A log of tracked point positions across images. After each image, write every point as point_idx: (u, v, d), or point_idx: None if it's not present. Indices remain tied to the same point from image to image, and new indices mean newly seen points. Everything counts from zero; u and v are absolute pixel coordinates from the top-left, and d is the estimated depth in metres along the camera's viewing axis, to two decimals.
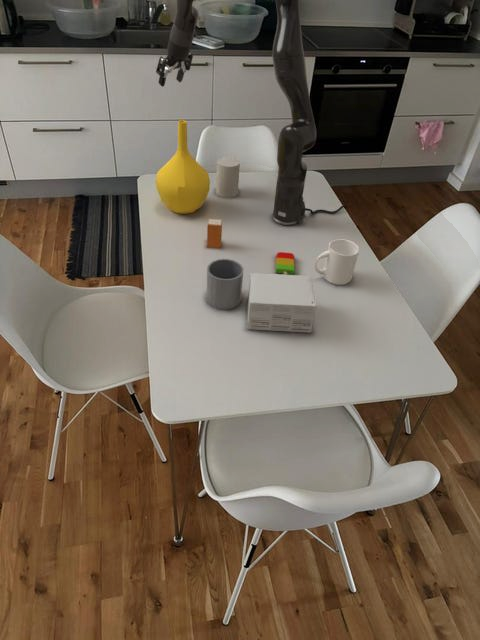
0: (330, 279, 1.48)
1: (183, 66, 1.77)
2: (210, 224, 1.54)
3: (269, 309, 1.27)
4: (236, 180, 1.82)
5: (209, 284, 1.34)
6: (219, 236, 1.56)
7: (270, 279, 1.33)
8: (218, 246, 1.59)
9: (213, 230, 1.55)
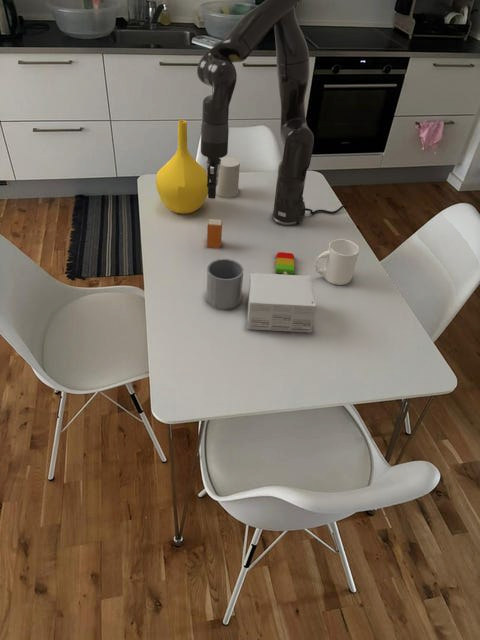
0: (330, 279, 1.48)
1: None
2: (210, 224, 1.54)
3: (269, 309, 1.27)
4: (236, 180, 1.82)
5: (209, 284, 1.34)
6: (219, 236, 1.56)
7: (270, 279, 1.33)
8: (218, 246, 1.59)
9: (213, 230, 1.55)
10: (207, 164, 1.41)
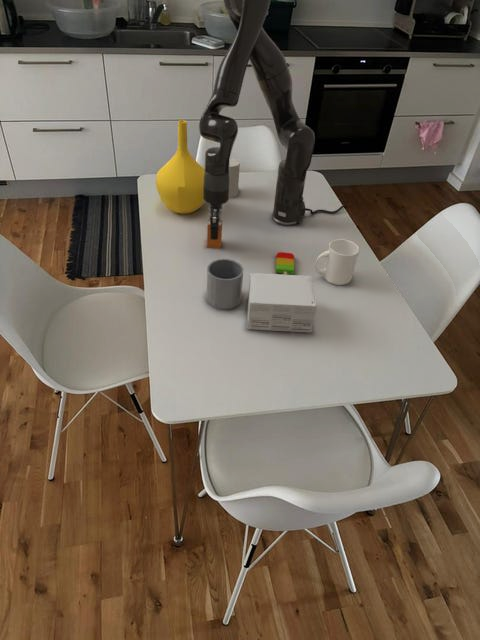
0: (330, 279, 1.48)
1: None
2: None
3: (269, 309, 1.27)
4: (236, 180, 1.82)
5: (209, 284, 1.34)
6: (219, 236, 1.57)
7: (270, 279, 1.33)
8: (218, 246, 1.59)
9: None
10: (209, 209, 1.50)
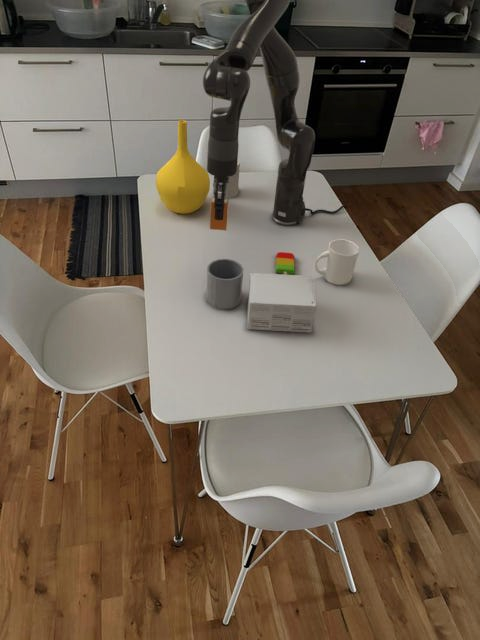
0: (330, 279, 1.48)
1: None
2: (214, 201, 1.31)
3: (269, 309, 1.27)
4: (236, 180, 1.82)
5: (209, 284, 1.34)
6: (224, 216, 1.34)
7: (270, 279, 1.33)
8: (223, 228, 1.36)
9: None
10: (214, 183, 1.28)
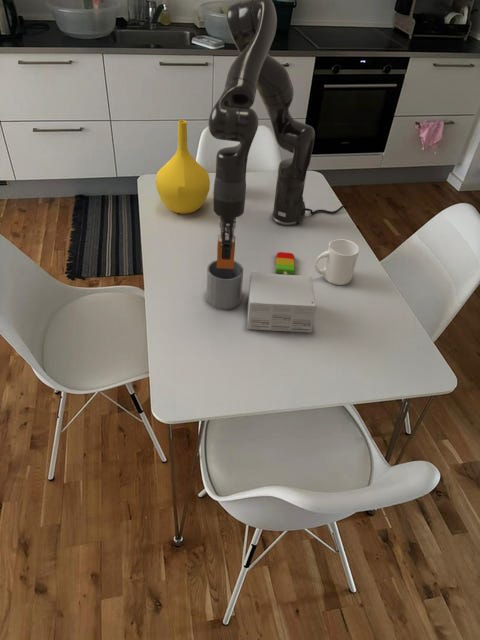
0: (330, 279, 1.48)
1: None
2: (221, 241, 1.26)
3: (269, 309, 1.27)
4: None
5: (209, 284, 1.34)
6: (232, 255, 1.29)
7: (270, 279, 1.33)
8: (230, 267, 1.31)
9: None
10: (221, 223, 1.23)
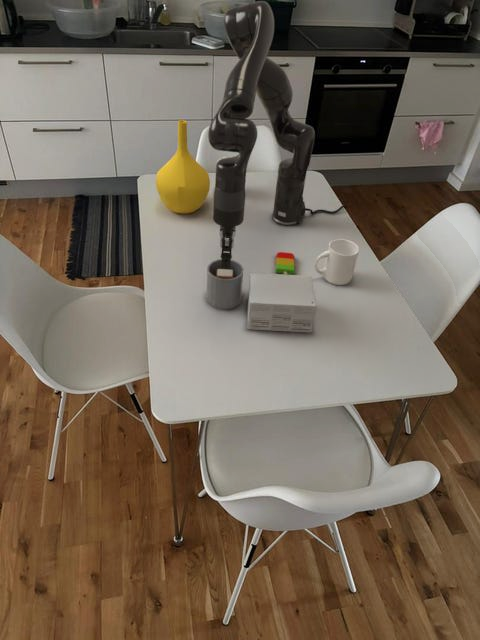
0: (330, 279, 1.48)
1: None
2: (219, 275, 1.33)
3: (269, 309, 1.27)
4: None
5: (209, 284, 1.34)
6: None
7: (270, 279, 1.33)
8: None
9: None
10: (220, 232, 1.24)
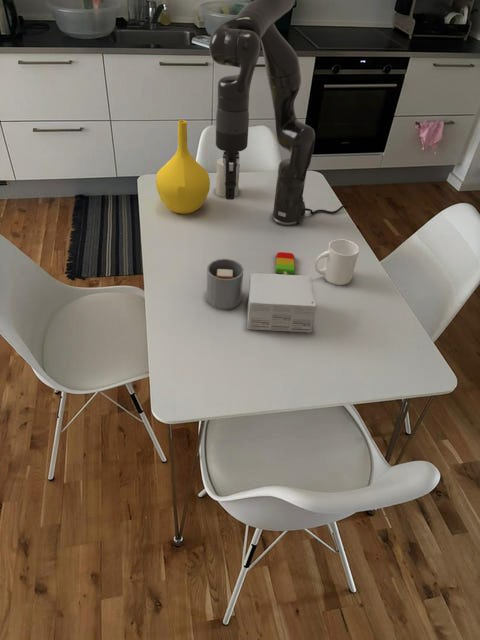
0: (330, 279, 1.48)
1: None
2: (219, 275, 1.33)
3: (269, 309, 1.27)
4: (236, 180, 1.82)
5: (209, 284, 1.34)
6: None
7: (270, 279, 1.33)
8: None
9: None
10: (224, 159, 1.19)
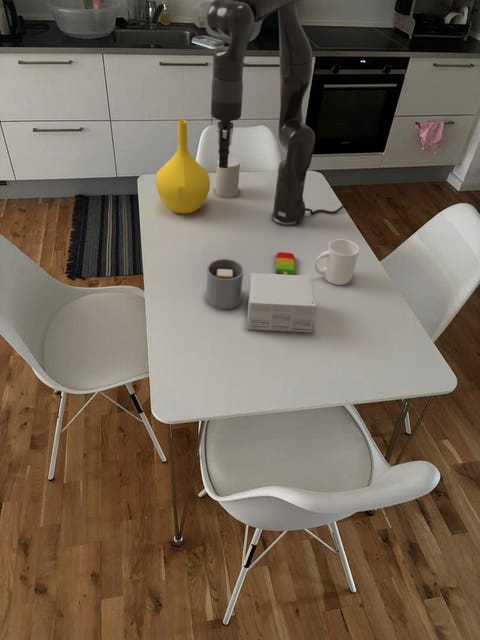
0: (330, 279, 1.48)
1: None
2: (219, 275, 1.33)
3: (269, 309, 1.27)
4: (236, 180, 1.82)
5: (209, 284, 1.34)
6: None
7: (270, 279, 1.33)
8: None
9: None
10: (218, 128, 1.25)
